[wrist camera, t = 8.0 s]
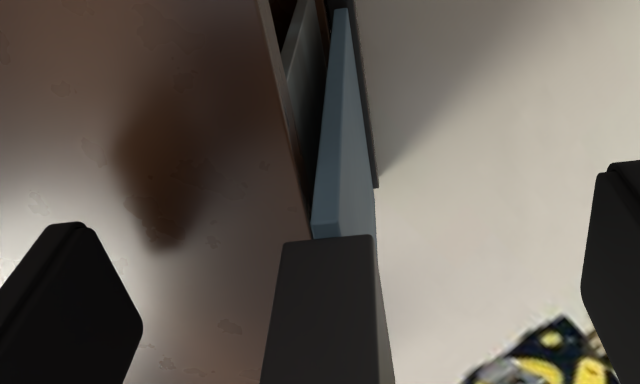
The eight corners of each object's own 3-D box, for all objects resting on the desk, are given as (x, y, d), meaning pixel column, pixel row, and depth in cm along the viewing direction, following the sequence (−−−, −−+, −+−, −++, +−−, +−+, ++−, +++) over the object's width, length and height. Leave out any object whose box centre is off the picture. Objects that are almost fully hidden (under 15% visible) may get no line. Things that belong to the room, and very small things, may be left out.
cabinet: (306, -362, 15) (208, -728, 5) (378, 178, 25) (393, 416, 15) (-79, -260, 16) (-732, -378, 7) (135, 206, 26) (4, 435, 17)
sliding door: (362, 4, 19) (379, 441, 6) (386, 198, 24) (426, 680, 10) (318, 11, 19) (235, 447, 6) (351, 201, 24) (346, 678, 11)
